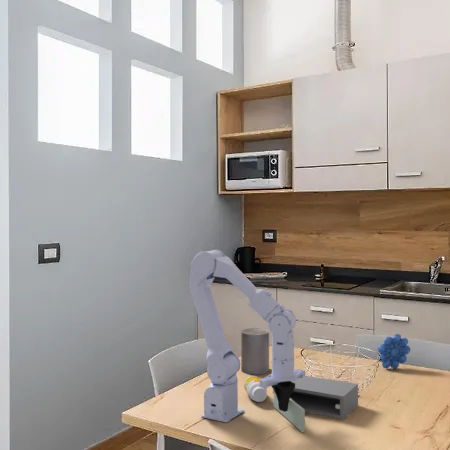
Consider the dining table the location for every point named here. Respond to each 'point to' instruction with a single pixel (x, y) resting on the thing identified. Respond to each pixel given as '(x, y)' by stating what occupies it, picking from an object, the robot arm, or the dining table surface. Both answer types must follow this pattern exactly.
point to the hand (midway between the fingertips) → (283, 410)
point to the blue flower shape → (393, 351)
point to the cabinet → (325, 396)
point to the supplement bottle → (255, 389)
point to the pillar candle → (255, 351)
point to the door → (292, 413)
